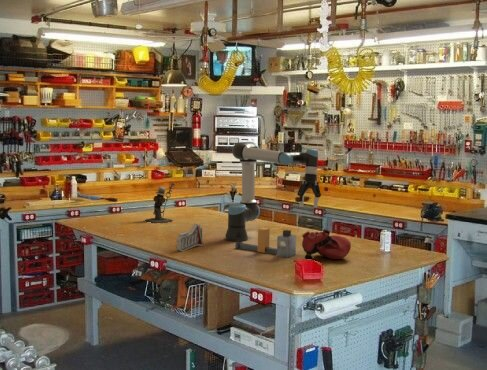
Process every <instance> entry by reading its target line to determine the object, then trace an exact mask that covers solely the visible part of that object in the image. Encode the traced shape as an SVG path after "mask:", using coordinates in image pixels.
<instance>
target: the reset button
mask: <svg viewBox="0 0 487 370" xmlns="http://www.w3.org/2000/svg"><path fill="white" fill-rule="evenodd" d="M291 232H292V230H291V229H289V230H288V229H283V231H282V235H285V236H286V237H288V235H291V234H292V233H291Z"/></svg>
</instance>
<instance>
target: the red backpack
mask: <svg viewBox="0 0 487 370" xmlns="http://www.w3.org/2000/svg"><path fill="white" fill-rule="evenodd" d="M330 232H331V231H330V230H328V229H326V228H323V230H322V231H319V232H318V231H312V232H311V231H309V230H308V231H306V232H304V233H303V234H301V235H302V243H301V246H302V249H303V251H304V252H305V256H304V260H305V259H312V260H313V259H314V257H313V256H312V255H314V254H319V255H320V256H321V257H323V258H324V257H325V258H328V259H331V260H335V259H338V260H343V259H345V257H347V255H349V253H350V251H351V247H352V246H351V245H352V243H351V241H350V240H349V239H348V238H347V237H344V236H340V235H330V234H331V233H330Z"/></svg>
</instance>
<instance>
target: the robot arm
mask: <svg viewBox="0 0 487 370" xmlns="http://www.w3.org/2000/svg"><path fill="white" fill-rule="evenodd" d="M231 152H232V155H233V157H234V158H235V159H237V160H239V163H240V165H241V200H240V201H239V202H238V203H232V204H230V205H228V210H227V231H226V232H225V236H224V237H225V238H224V239H225V240H226V241H229V242H244V241H248V238H249V235H248V233H247V230H246V222H252V221H253V222H254V221H255V220H257V219H258V217H259V216H260V214H261V209H260V206H259V205H258V203H257V202H258V201H257V200H256V198H255V193H256V192H255V185H256V184H255V181H256V179H255V178H256V177H255V173H256V172H255V169H256V168H255V167H256V164H257V162H258V161H261V162H267V163H268V162H269V163H273V164H274V163H275V164H281V165H283V166H290V165H305V168H304V169H305V170H304V173H305V174H304V180H301V183H300V186H299V188H298V191H297V193H296V195H297V196H298V197H299V201H298V202H299V205H298V206H299V207H300V208H304V204H305V203H304V202H305V196H304V195H305V193H306V192H307V191H308V190H309V189H310V190H311V191H312V193H313V195H314V197H313V208H318V204H319V198H321V196H322V194H321V189H320V185H319V181H317V176H318V175H317V173H318V161H319V150H318V149H315V148H307V149H306V151H305V152H303V151H290V152H285V151H278V150H273V149H265V148H260V147H259V145H258V143H256V142H254V141H240V142H236V143H235V144H234V145H233V146H232V149H231Z"/></svg>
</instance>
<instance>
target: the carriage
mask: <svg viewBox="0 0 487 370" xmlns="http://www.w3.org/2000/svg"><path fill="white" fill-rule="evenodd" d="M257 230H258V231H257V245H258V253H264V254H266V253H265V248H266V247H270V230H271V229H270V228H266V227H261V228H258V229H257Z"/></svg>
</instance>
